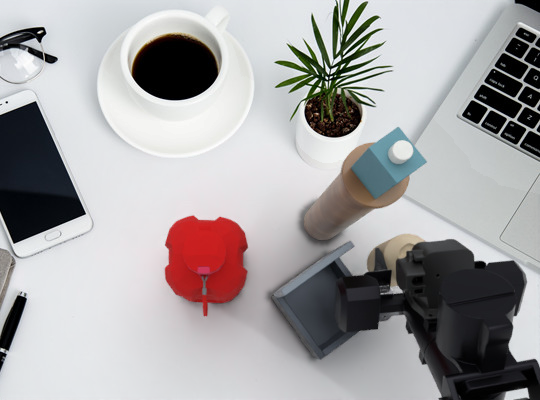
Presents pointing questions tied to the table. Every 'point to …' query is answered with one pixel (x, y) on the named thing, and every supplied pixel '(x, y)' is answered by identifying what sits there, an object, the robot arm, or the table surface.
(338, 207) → the tall beige cylinder
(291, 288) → the lid
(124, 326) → the table surface
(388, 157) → the teal milk carton
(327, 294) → the open box
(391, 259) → the candle
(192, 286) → the red rounded piece
